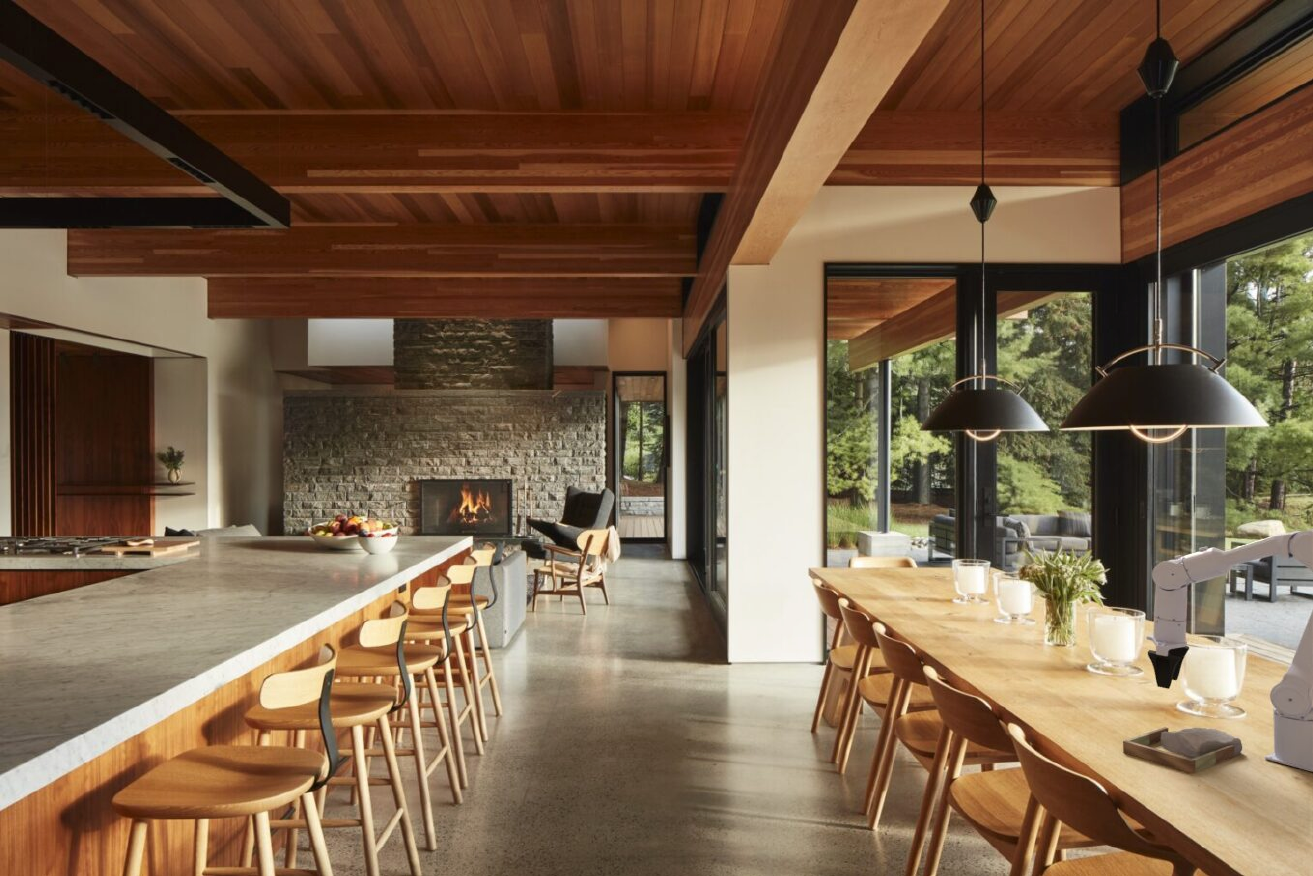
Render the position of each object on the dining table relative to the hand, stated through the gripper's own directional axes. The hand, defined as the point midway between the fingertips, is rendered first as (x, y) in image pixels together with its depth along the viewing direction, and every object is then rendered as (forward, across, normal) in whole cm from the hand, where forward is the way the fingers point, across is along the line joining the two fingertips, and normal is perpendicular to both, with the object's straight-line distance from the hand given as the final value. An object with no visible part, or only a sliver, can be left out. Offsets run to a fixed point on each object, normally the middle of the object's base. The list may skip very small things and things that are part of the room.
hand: (1167, 683), depth 172 cm
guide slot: (+10, +12, +4) cm, 16 cm away
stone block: (+11, +6, +7) cm, 14 cm away
